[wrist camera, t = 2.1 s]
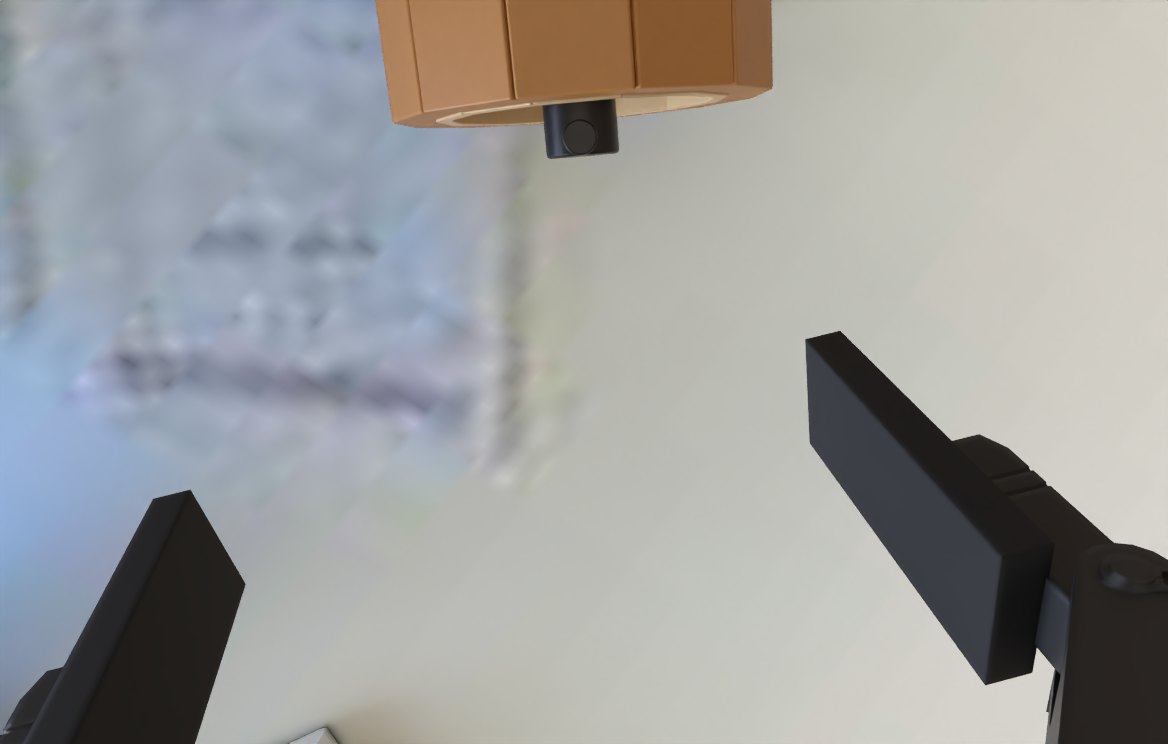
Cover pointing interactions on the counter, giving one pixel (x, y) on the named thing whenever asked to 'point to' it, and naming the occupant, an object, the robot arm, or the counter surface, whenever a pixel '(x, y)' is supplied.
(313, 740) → the hard drive
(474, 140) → the counter surface
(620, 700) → the counter surface
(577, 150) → the hook stand
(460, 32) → the tape roll
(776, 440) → the counter surface
